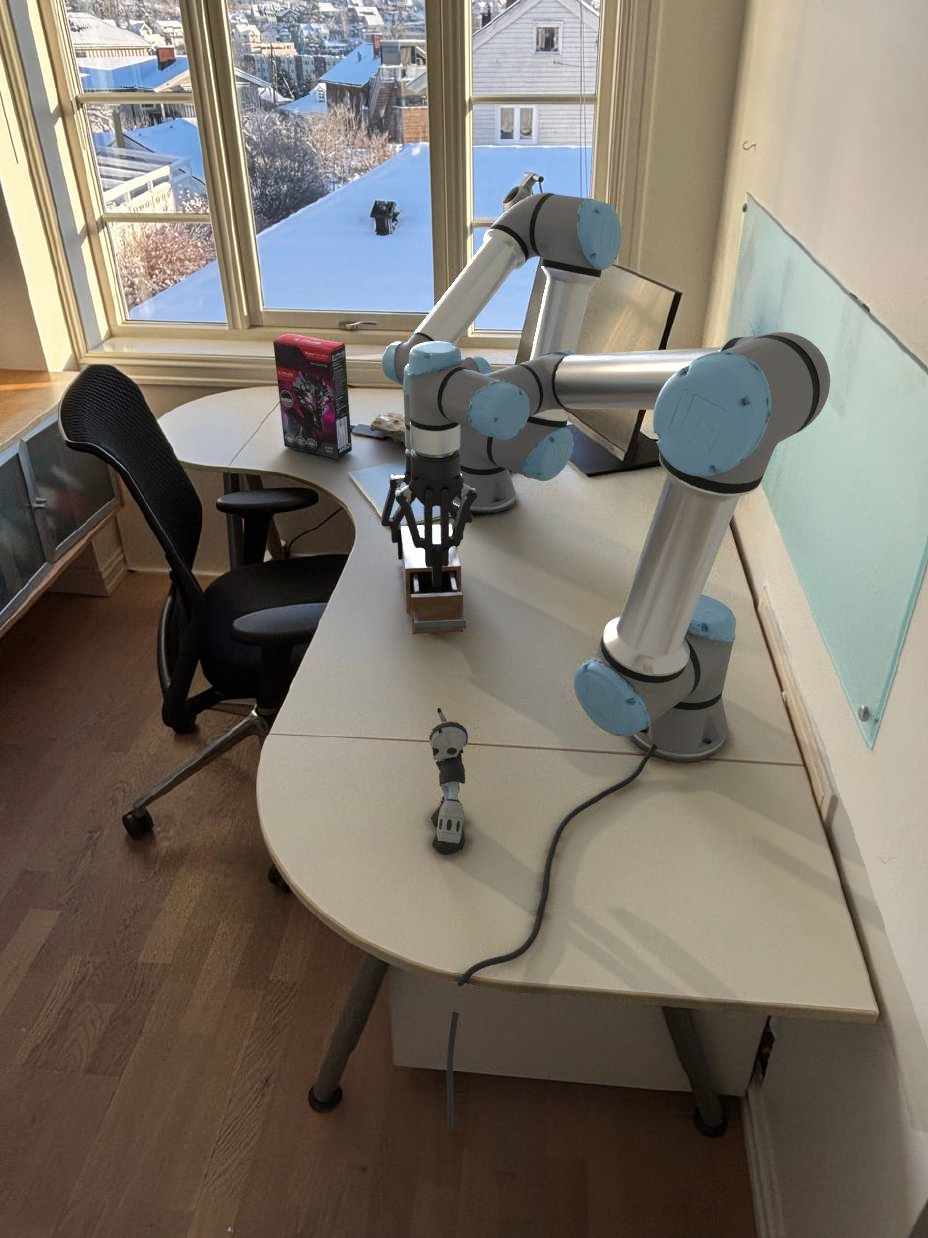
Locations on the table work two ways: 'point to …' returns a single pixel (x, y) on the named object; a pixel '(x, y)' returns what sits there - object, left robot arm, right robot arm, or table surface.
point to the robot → (449, 784)
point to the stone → (390, 426)
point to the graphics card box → (313, 395)
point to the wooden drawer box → (416, 560)
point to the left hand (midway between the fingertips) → (427, 555)
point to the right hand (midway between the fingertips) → (436, 582)
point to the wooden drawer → (436, 604)
